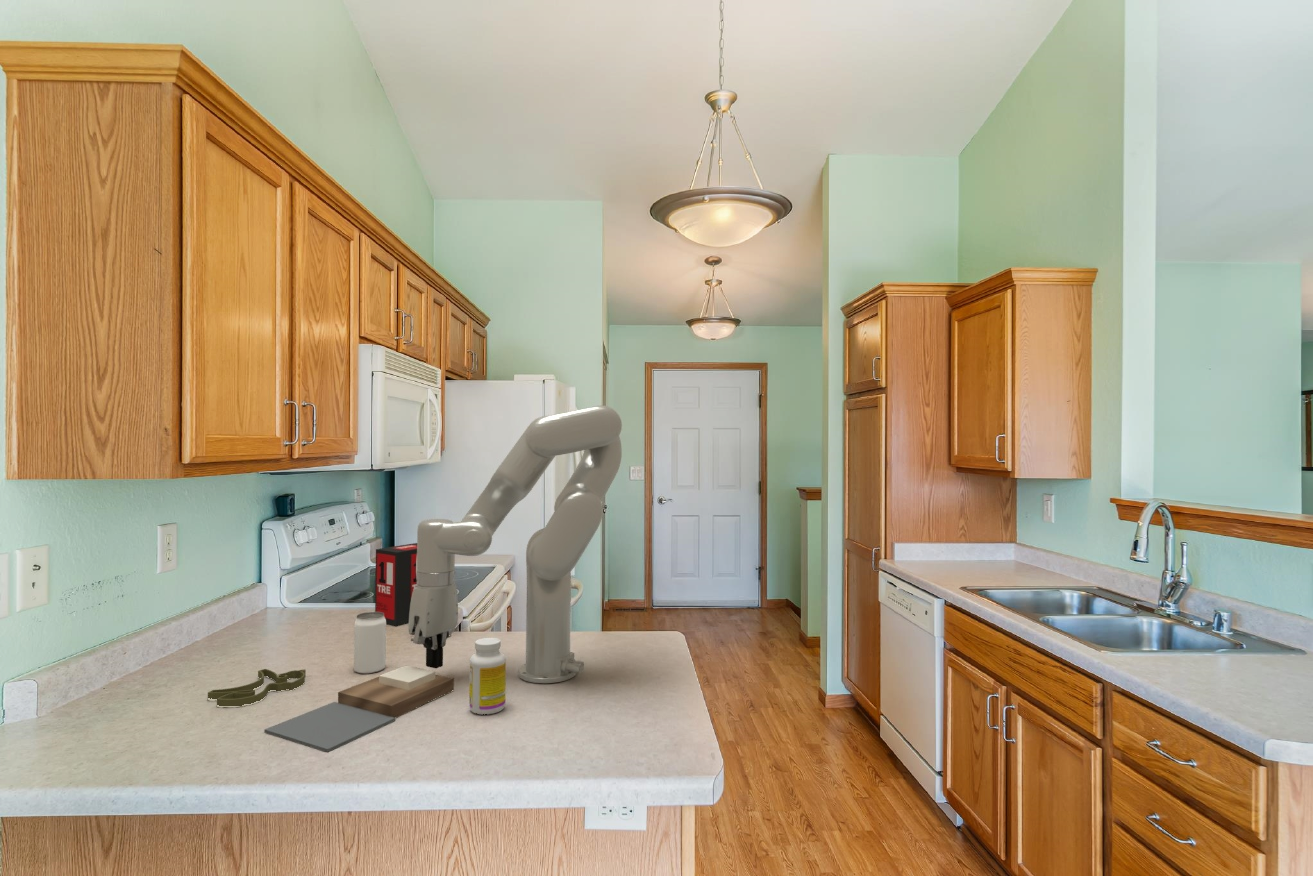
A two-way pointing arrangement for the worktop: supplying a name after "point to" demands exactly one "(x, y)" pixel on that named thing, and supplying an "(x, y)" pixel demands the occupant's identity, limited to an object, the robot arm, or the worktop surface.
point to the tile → (407, 677)
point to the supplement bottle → (487, 677)
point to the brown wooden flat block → (393, 696)
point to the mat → (329, 726)
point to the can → (370, 643)
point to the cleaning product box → (395, 582)
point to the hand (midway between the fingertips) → (434, 666)
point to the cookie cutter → (246, 692)
